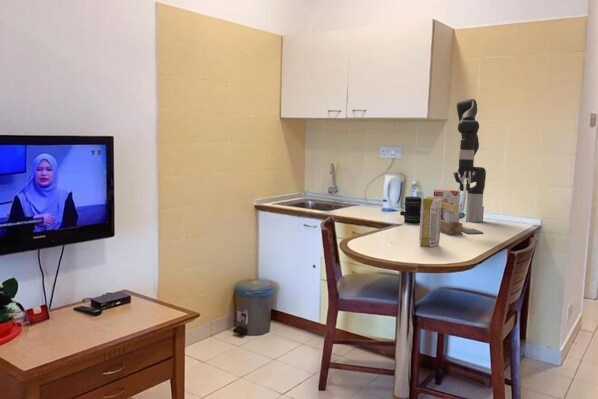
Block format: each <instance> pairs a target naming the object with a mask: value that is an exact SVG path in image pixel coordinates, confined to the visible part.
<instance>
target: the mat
mask: <svg viewBox="0 0 598 399" xmlns="http://www.w3.org/2000/svg"><path fill="white" fill-rule="evenodd" d="M462 233H464V234H467V235H484V234H485V233H484V232H483V231H480V230H478V229H475V228H462Z"/></svg>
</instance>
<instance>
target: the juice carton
mask: <svg viewBox="0 0 598 399" xmlns="http://www.w3.org/2000/svg"><path fill="white" fill-rule="evenodd" d="M432 196H433V195H426V196H425V198H424V197H423V198H422V199H421V200H422V203H421V217H420V223H419V237H418V238H419V246H421V245H423V246H422V247H426V246H429V247H428V248H433V246H434V247H436V245H437V246H438V245H439V244H440V241H441V240H440V239H441V232H440V225H441V207H442V203H441V198H433V197H434V196H433V197H432Z"/></svg>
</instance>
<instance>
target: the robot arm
mask: <svg viewBox="0 0 598 399" xmlns="http://www.w3.org/2000/svg"><path fill="white" fill-rule="evenodd" d="M456 111H457V116H458V121H459V122H458V125H457V131H458V133H460V134H461V135H460V136H461V139H460V146H459V154H458V169H457V171H454V172H453V173H452V174H453V177H454V180H455V182H456V183H458V184H459V190H460V192H463V191H464V189H465V192H466V194H467V196H466V208H465V209H466V210H465V221H466V222H469V223H484V212H485V211H484V210H485V207H484V205H483V203H484V191H485V186H486V177H487V171H486V169H485V167H481V166H474V163H475V156H476V154H477V152H478V150H479V148H480V147H479V146H480V143H479V136H478V132H479V129H480V124H479V121H477V120H476V116H477V113H478V103H477V101H476V99H474V98H469V99H468V98H467V99H462V100H458V101H457V103H456ZM465 180H466V182H465ZM464 182H465V183H466V184H464ZM472 183H473V184H474V183H475V185H474V186H472V187H471V184H472ZM464 185H465V186H464Z"/></svg>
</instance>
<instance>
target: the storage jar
mask: <svg viewBox="0 0 598 399" xmlns="http://www.w3.org/2000/svg"><path fill="white" fill-rule="evenodd" d="M422 199H423V198H422V197H420V196H405V197H404V212H403V213H404V215H403V219H404V220H403V223H405V224H409V225H410V224H411V225H416V224H419V225H420V217H421V203H422Z"/></svg>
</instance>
